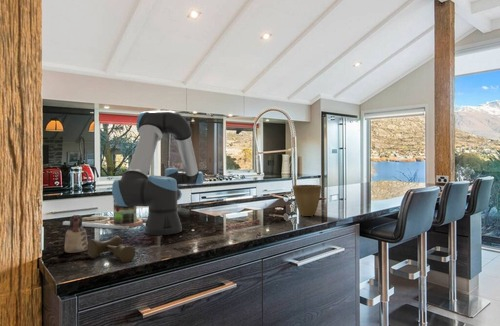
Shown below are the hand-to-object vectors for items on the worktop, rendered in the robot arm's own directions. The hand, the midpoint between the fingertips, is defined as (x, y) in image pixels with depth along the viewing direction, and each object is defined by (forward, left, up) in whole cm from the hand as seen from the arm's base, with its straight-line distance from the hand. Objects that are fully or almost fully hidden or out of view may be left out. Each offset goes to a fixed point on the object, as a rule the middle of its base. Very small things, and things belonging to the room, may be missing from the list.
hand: (137, 201), depth 170 cm
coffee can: (0, +10, -10) cm, 14 cm away
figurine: (-14, +52, -10) cm, 54 cm away
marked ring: (0, +10, -9) cm, 14 cm away
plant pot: (-77, -39, -10) cm, 87 cm away
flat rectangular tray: (+10, +10, -9) cm, 17 cm away
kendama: (-31, +54, -10) cm, 63 cm away
